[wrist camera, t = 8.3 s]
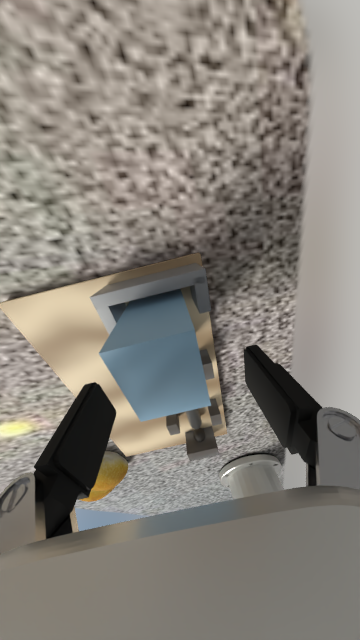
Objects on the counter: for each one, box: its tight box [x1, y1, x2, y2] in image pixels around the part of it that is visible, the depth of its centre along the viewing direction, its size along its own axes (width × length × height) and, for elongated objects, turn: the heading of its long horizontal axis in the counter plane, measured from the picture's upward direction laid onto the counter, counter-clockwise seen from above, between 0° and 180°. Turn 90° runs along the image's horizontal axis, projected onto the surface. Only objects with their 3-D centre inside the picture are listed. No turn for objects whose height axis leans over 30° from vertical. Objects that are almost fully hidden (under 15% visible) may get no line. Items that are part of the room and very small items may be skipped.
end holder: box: [89, 263, 211, 335], centre depth 11 cm, size 3×7×3 cm, turn 103°
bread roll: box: [79, 451, 128, 502], centre depth 24 cm, size 8×9×4 cm
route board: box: [0, 253, 227, 461], centre depth 17 cm, size 27×16×3 cm, turn 13°
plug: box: [99, 289, 211, 429], centre depth 13 cm, size 18×4×7 cm, turn 13°
